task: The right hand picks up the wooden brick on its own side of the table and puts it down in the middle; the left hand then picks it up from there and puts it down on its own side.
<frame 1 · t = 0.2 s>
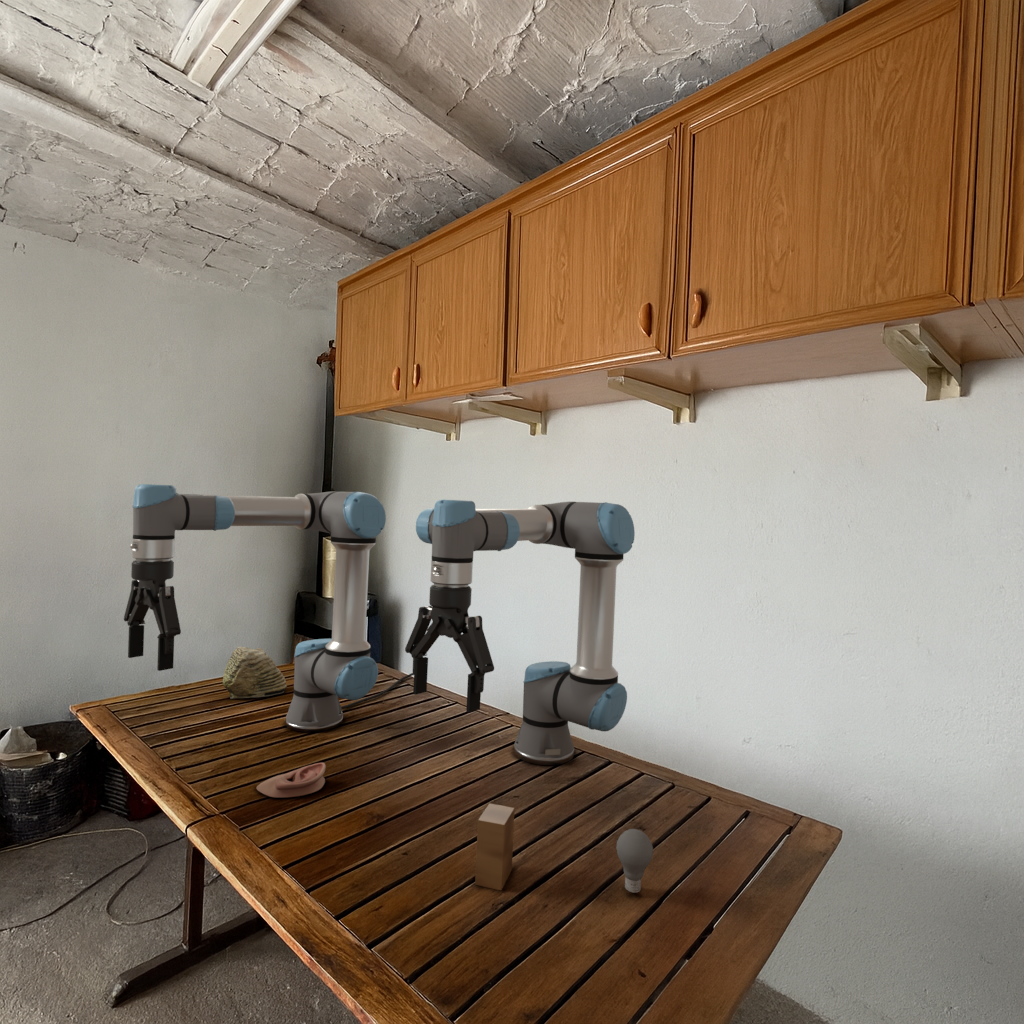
left hand: (150, 662, 130), 28 cm above the table, tool pointing down, fingers open, 13 cm apart
right hand: (445, 701, 115), 27 cm above the table, tool pointing down, fingers open, 13 cm apart
brick: (493, 877, 108), on the table
light bulb: (632, 891, 106), on the table
anatomical model: (291, 787, 137), on the table
fossil: (254, 694, 198), on the table
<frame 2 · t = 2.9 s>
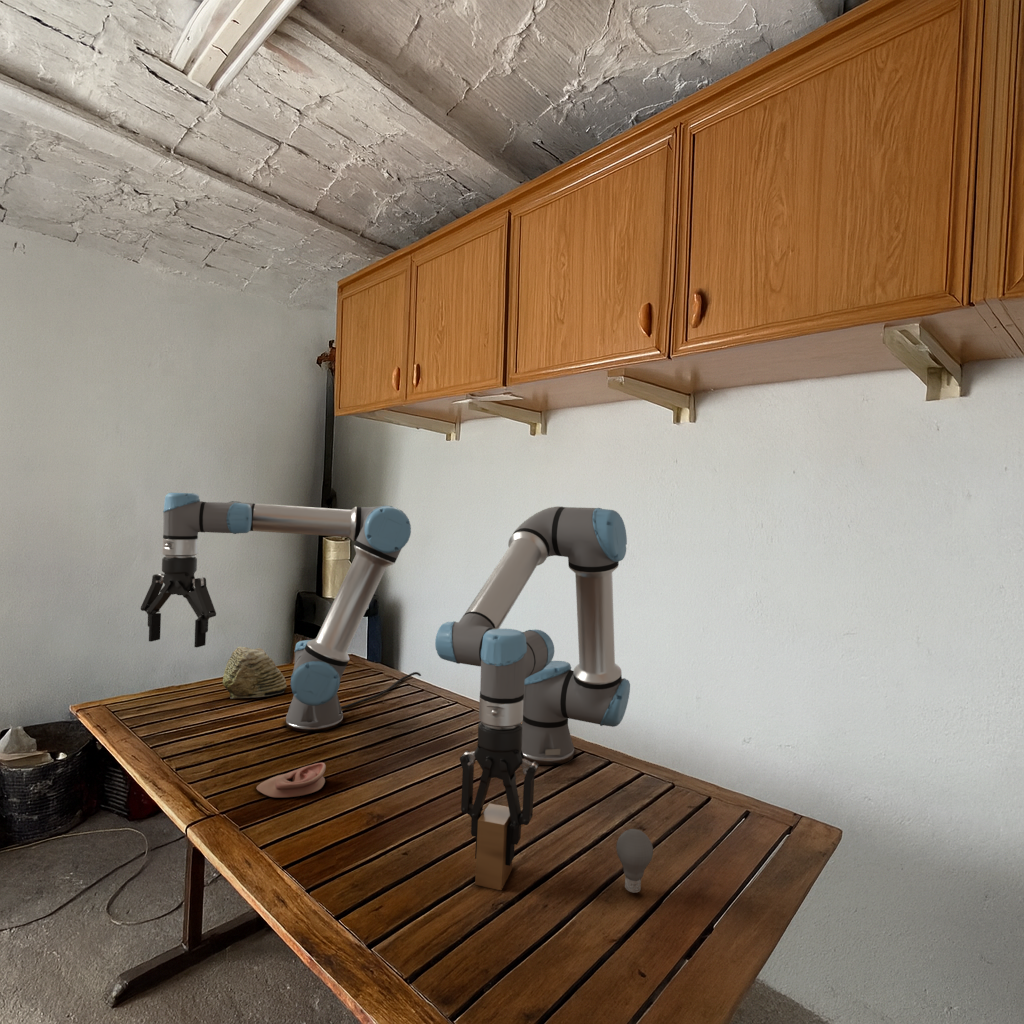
left hand: (176, 643, 154), 26 cm above the table, tool pointing down, fingers open, 13 cm apart
right hand: (494, 857, 108), 3 cm above the table, tool pointing down, fingers closed on brick, 5 cm apart
brick: (493, 877, 108), on the table, touching right hand
everything else where it was.
when the right hand's fingers open (4 cm above the table, at t = 8.4 s): brick drops 1 cm, on the table.
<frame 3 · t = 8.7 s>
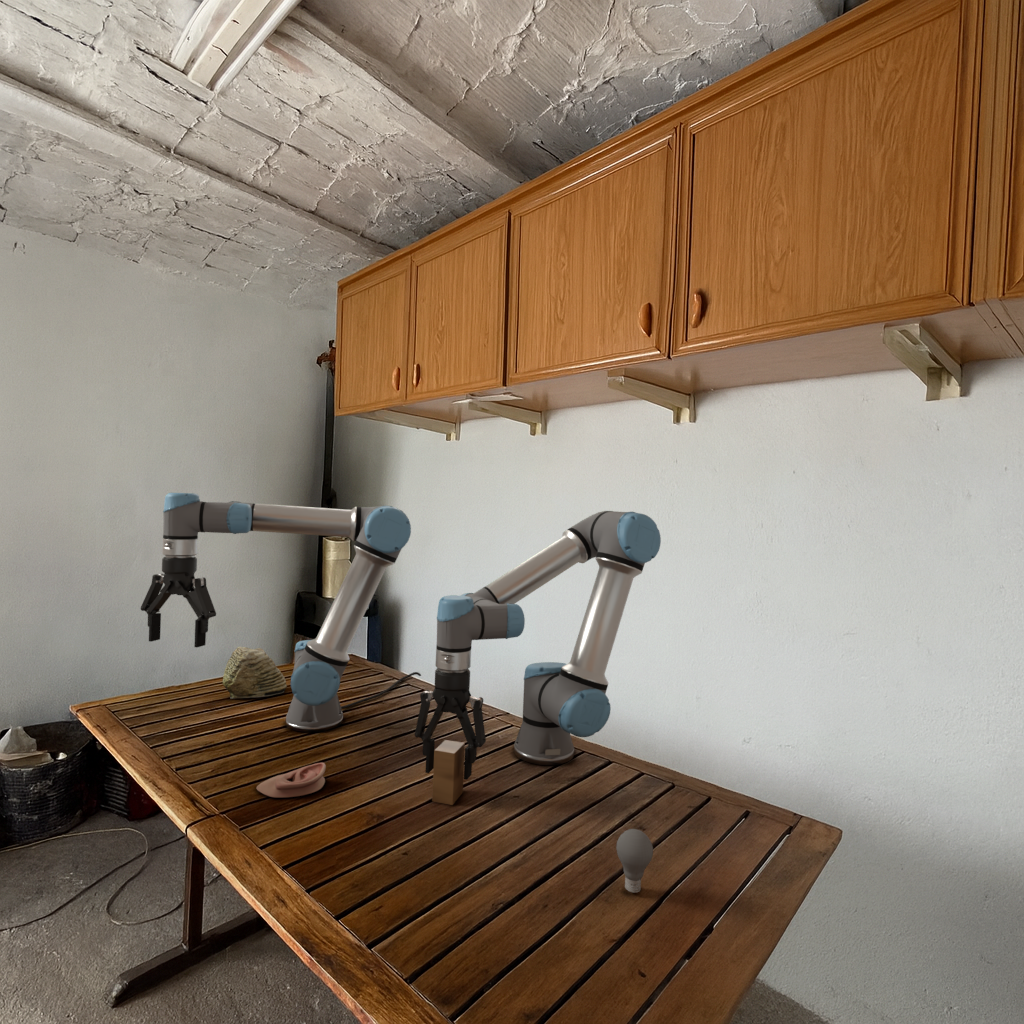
left hand: (176, 643, 154), 26 cm above the table, tool pointing down, fingers open, 13 cm apart
right hand: (448, 773, 136), 5 cm above the table, tool pointing down, fingers open, 8 cm apart
brick: (447, 796, 136), on the table
everything else where it was.
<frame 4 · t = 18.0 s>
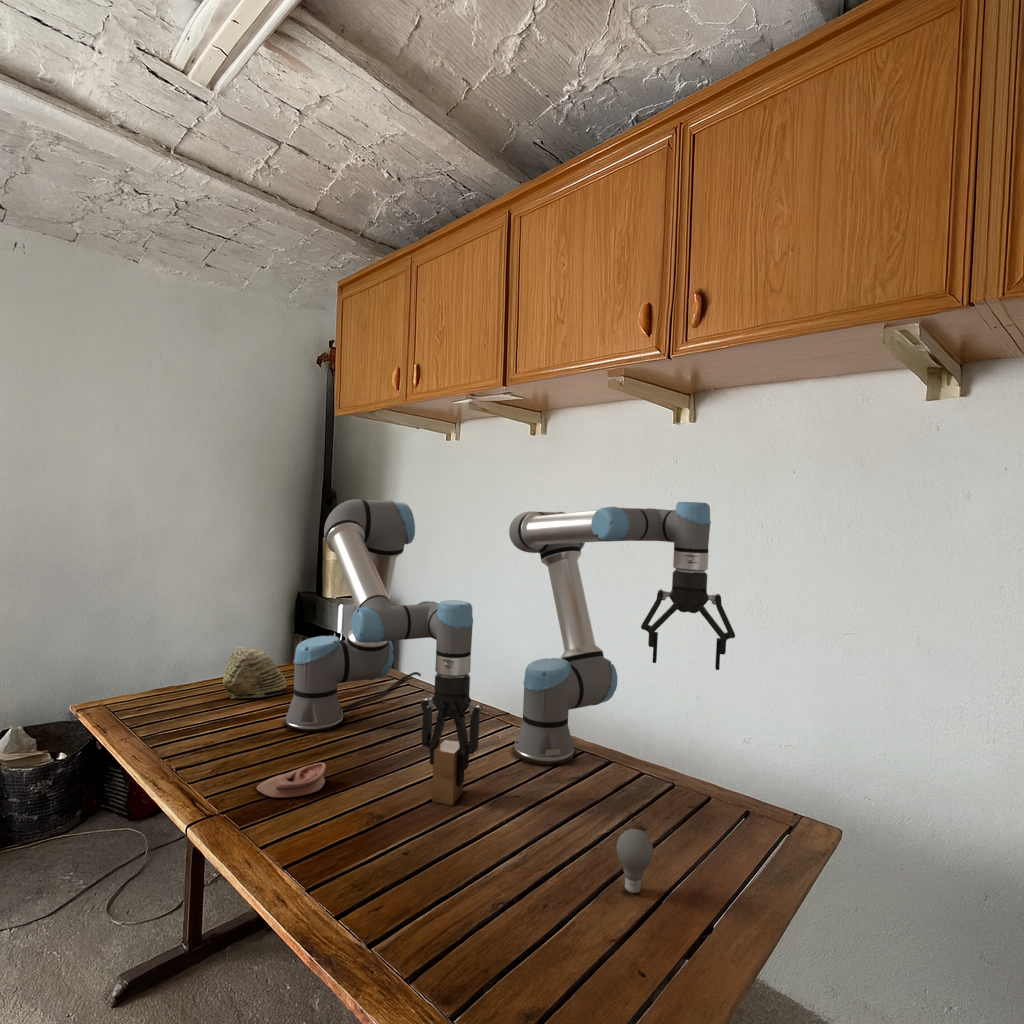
left hand: (448, 781, 136), 3 cm above the table, tool pointing down, fingers closed on brick, 5 cm apart
right hand: (685, 665, 142), 29 cm above the table, tool pointing down, fingers open, 13 cm apart
brick: (447, 796, 136), on the table, touching left hand
everything else where it was.
when the left hand's fingers open (4 cm above the table, at t = 25.5 s): brick drops 1 cm, on the table.
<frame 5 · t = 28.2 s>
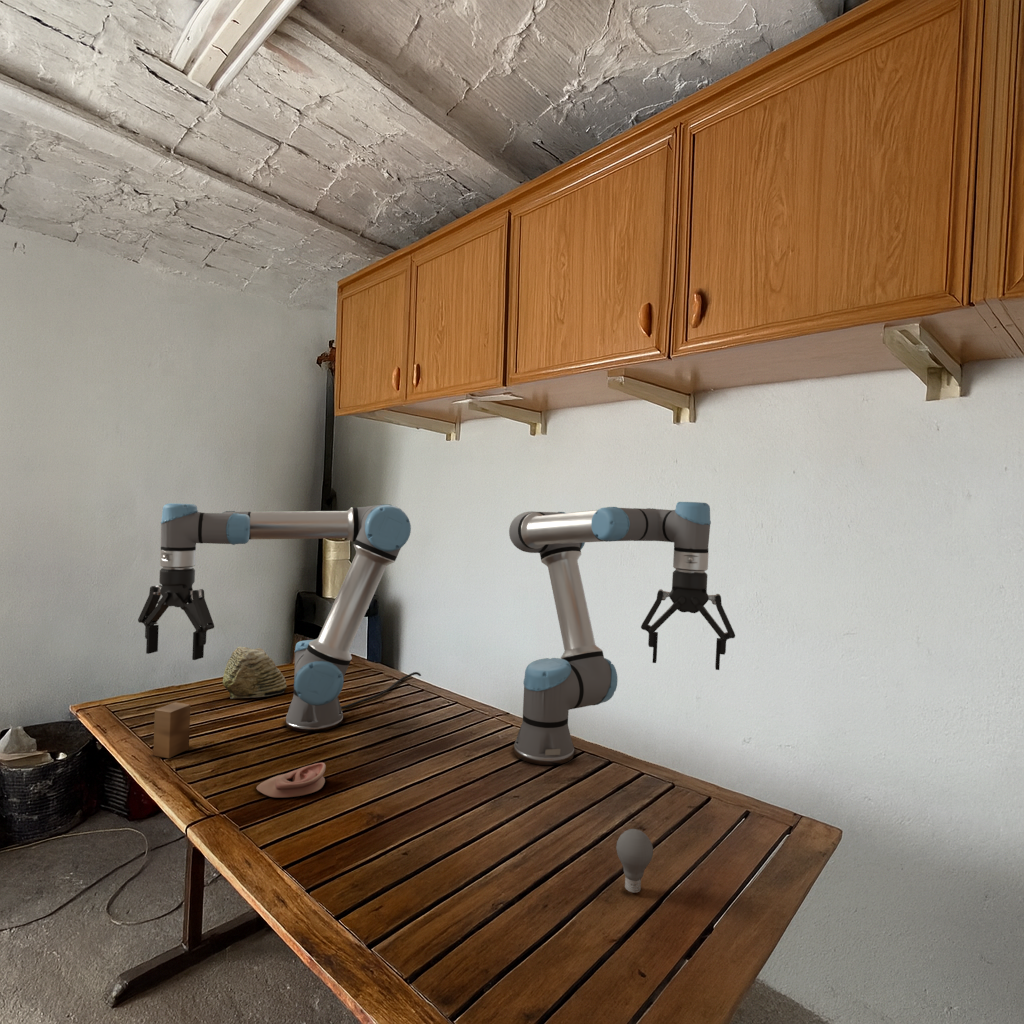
left hand: (174, 655, 153), 23 cm above the table, tool pointing down, fingers open, 13 cm apart
right hand: (685, 665, 142), 29 cm above the table, tool pointing down, fingers open, 13 cm apart
brick: (171, 752, 153), on the table
everything else where it was.
at the end: brick inside the target area (0.1 cm from its centre), on the table; brick tilted 0°; the two hands never held the brick at the same time; the left hand is holding nothing; the right hand is holding nothing; brick at rest at the end (0.0 cm/s) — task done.
